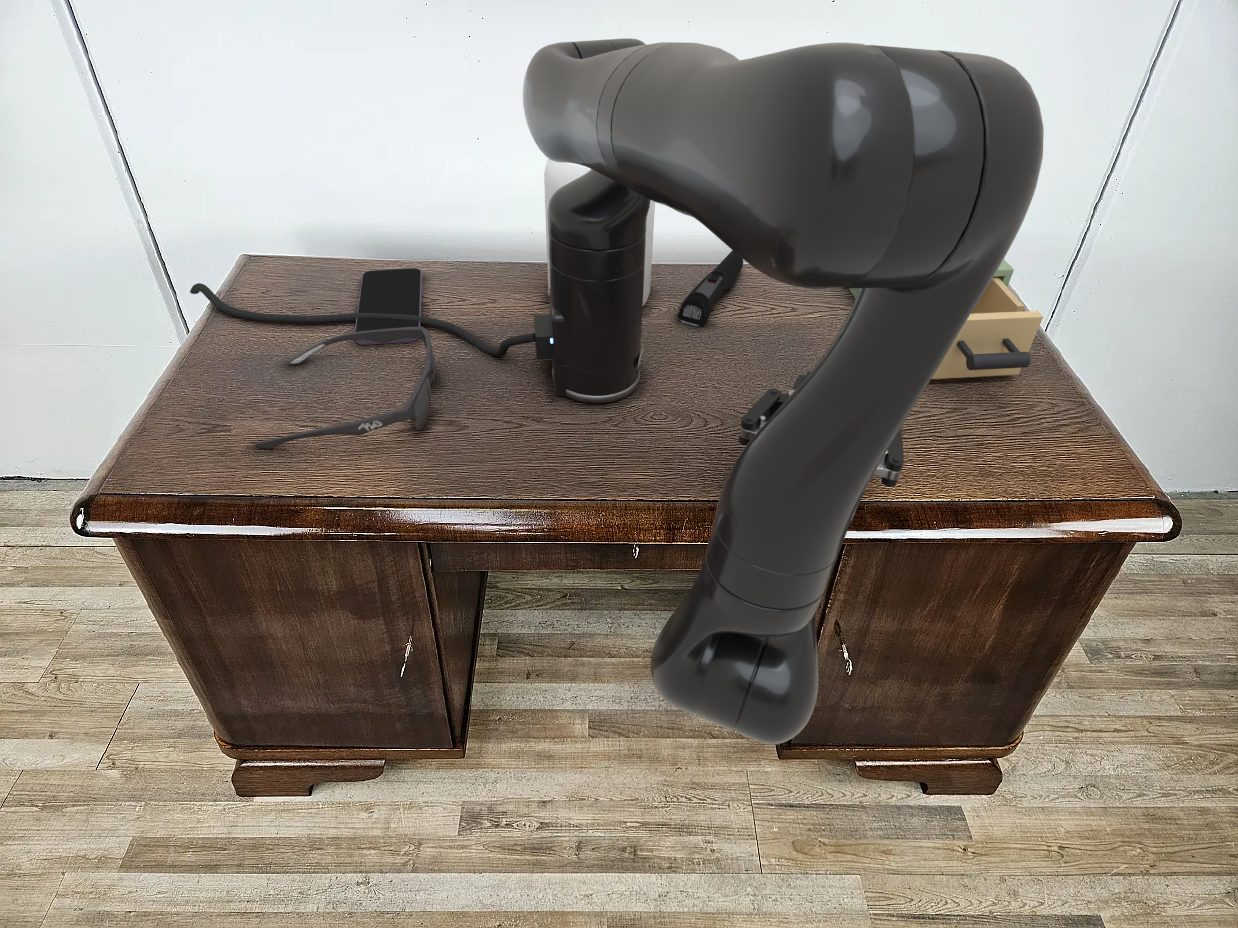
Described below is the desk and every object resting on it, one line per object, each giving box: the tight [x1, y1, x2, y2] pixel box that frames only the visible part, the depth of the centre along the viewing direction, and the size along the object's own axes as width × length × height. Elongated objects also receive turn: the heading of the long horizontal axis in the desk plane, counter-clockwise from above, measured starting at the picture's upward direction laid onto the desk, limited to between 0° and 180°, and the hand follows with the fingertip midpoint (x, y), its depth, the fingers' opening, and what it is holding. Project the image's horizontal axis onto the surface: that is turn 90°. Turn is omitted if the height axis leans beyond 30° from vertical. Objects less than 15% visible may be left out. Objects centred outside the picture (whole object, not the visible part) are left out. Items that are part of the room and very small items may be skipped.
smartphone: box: [354, 267, 423, 346], centre depth 97 cm, size 7×1×15 cm
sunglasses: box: [255, 326, 436, 450], centre depth 83 cm, size 16×17×5 cm
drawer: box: [931, 276, 1044, 380], centre depth 89 cm, size 18×11×7 cm, turn 7°
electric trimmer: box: [677, 249, 744, 327], centre depth 101 cm, size 4×16×3 cm, turn 153°
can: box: [543, 158, 656, 307], centre depth 94 cm, size 12×12×20 cm
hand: (841, 388), depth 75 cm, fingers closed on pill bottle, 5 cm apart
